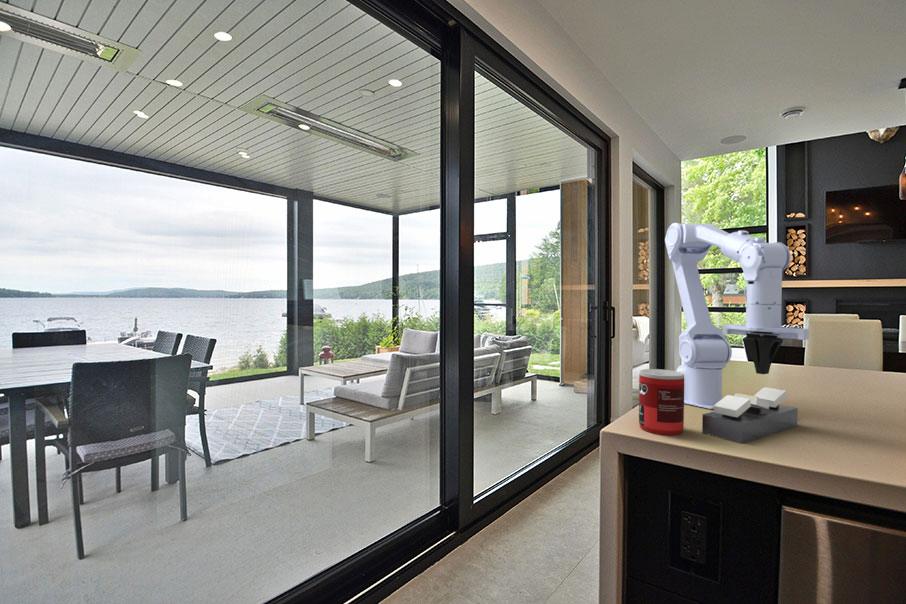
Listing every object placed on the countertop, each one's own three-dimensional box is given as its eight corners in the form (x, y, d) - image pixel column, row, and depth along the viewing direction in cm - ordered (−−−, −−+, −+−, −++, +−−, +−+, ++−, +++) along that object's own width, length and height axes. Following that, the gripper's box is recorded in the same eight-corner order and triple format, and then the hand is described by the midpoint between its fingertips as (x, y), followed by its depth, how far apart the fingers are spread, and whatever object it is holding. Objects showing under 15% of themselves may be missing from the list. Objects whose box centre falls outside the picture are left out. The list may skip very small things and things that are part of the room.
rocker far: (753, 403, 93) (752, 396, 92) (764, 393, 95) (764, 387, 95) (775, 407, 89) (774, 400, 89) (786, 397, 92) (786, 390, 92)
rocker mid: (733, 400, 89) (734, 392, 89) (746, 404, 91) (747, 397, 92) (756, 404, 85) (757, 396, 86) (768, 409, 88) (769, 401, 88)
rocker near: (714, 412, 85) (713, 405, 85) (728, 401, 88) (727, 394, 88) (737, 417, 82) (736, 410, 82) (751, 406, 84) (750, 399, 84)
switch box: (702, 433, 86) (702, 410, 86) (772, 413, 100) (772, 393, 100) (741, 443, 80) (742, 418, 80) (810, 421, 94) (811, 400, 94)
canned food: (648, 421, 94) (648, 367, 94) (690, 429, 88) (690, 372, 88) (631, 429, 89) (632, 372, 88) (674, 438, 83) (675, 377, 83)
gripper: (714, 303, 94) (713, 369, 95) (797, 305, 82) (795, 381, 82) (733, 303, 98) (732, 367, 98) (814, 304, 86) (813, 377, 86)
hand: (762, 373), depth 90 cm, fingers closed
